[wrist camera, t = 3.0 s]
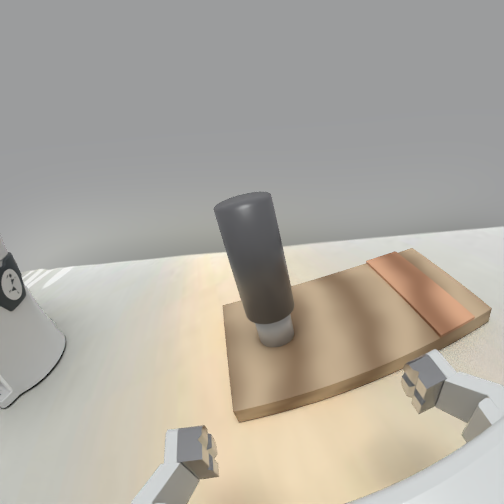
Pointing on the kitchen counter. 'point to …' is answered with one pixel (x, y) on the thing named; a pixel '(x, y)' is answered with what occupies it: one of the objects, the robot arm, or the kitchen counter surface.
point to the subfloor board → (348, 332)
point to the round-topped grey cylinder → (258, 264)
